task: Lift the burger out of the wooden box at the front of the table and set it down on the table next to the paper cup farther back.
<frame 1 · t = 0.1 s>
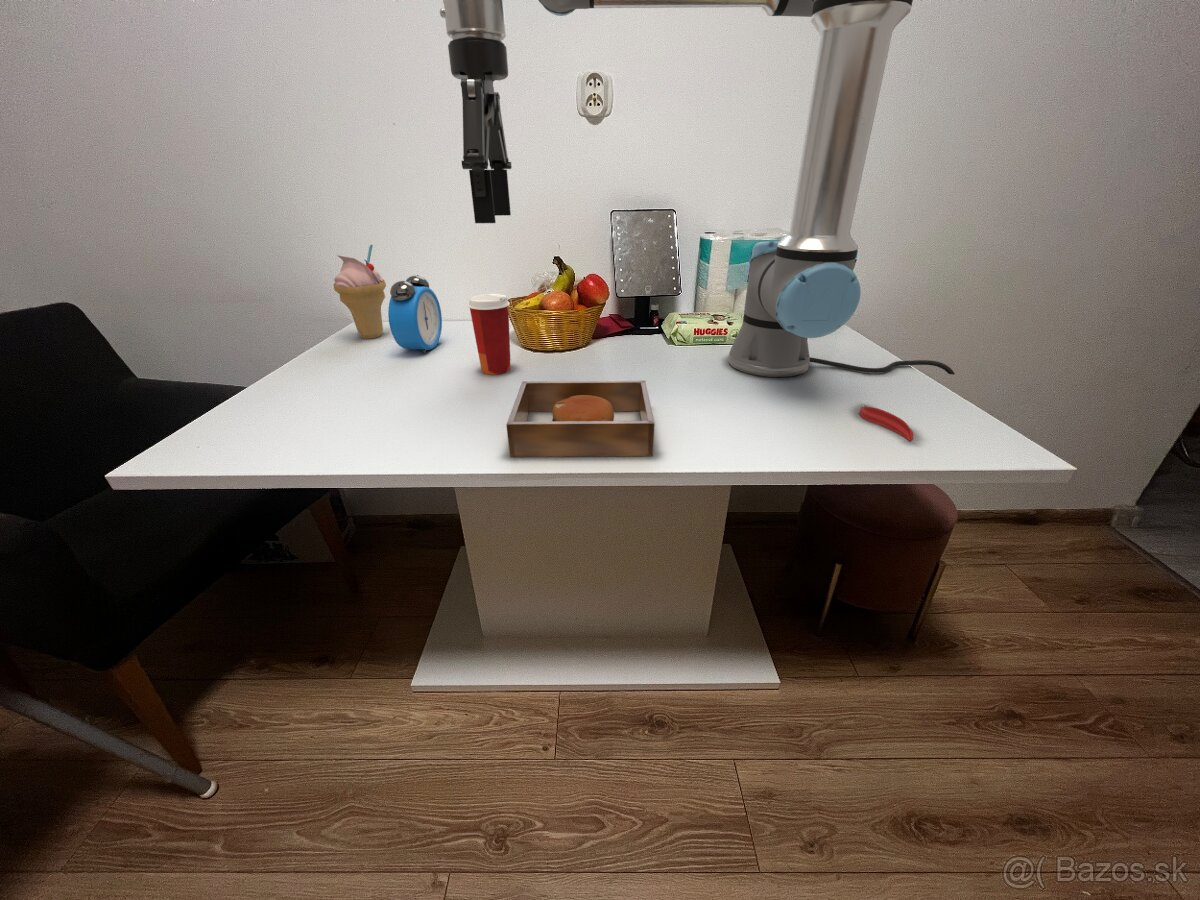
hand: (494, 219, 77), 28 cm above the table, tool pointing down, fingers open, 13 cm apart
cayenne pepper: (882, 424, 78), on the table
alarm clock: (421, 349, 113), on the table
paper cup: (496, 370, 100), on the table
ice cream cone: (372, 336, 122), on the table
wooden box: (583, 430, 77), on the table
burger: (583, 432, 77), resting in wooden box
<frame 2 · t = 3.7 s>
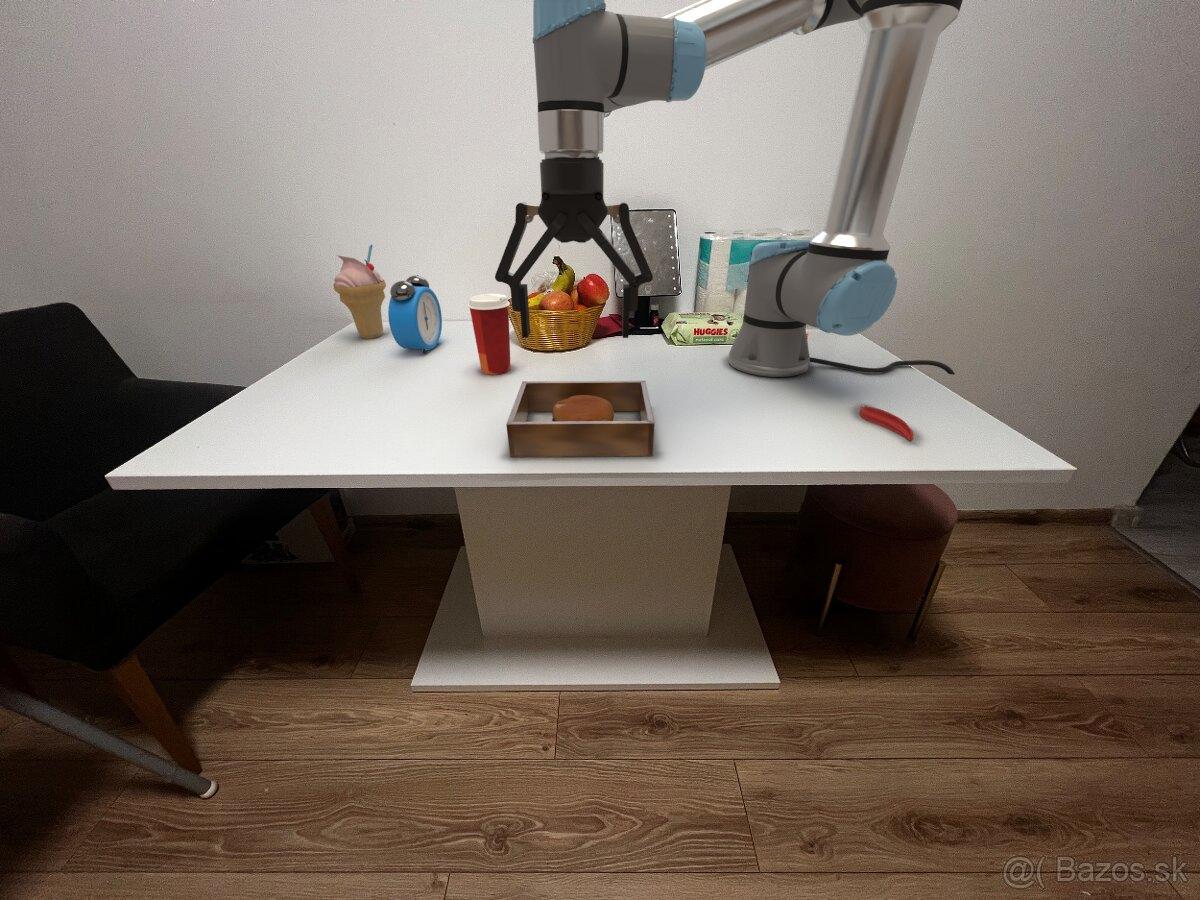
hand: (575, 335, 70), 14 cm above the table, tool pointing down, fingers open, 13 cm apart
nothing on the table moved.
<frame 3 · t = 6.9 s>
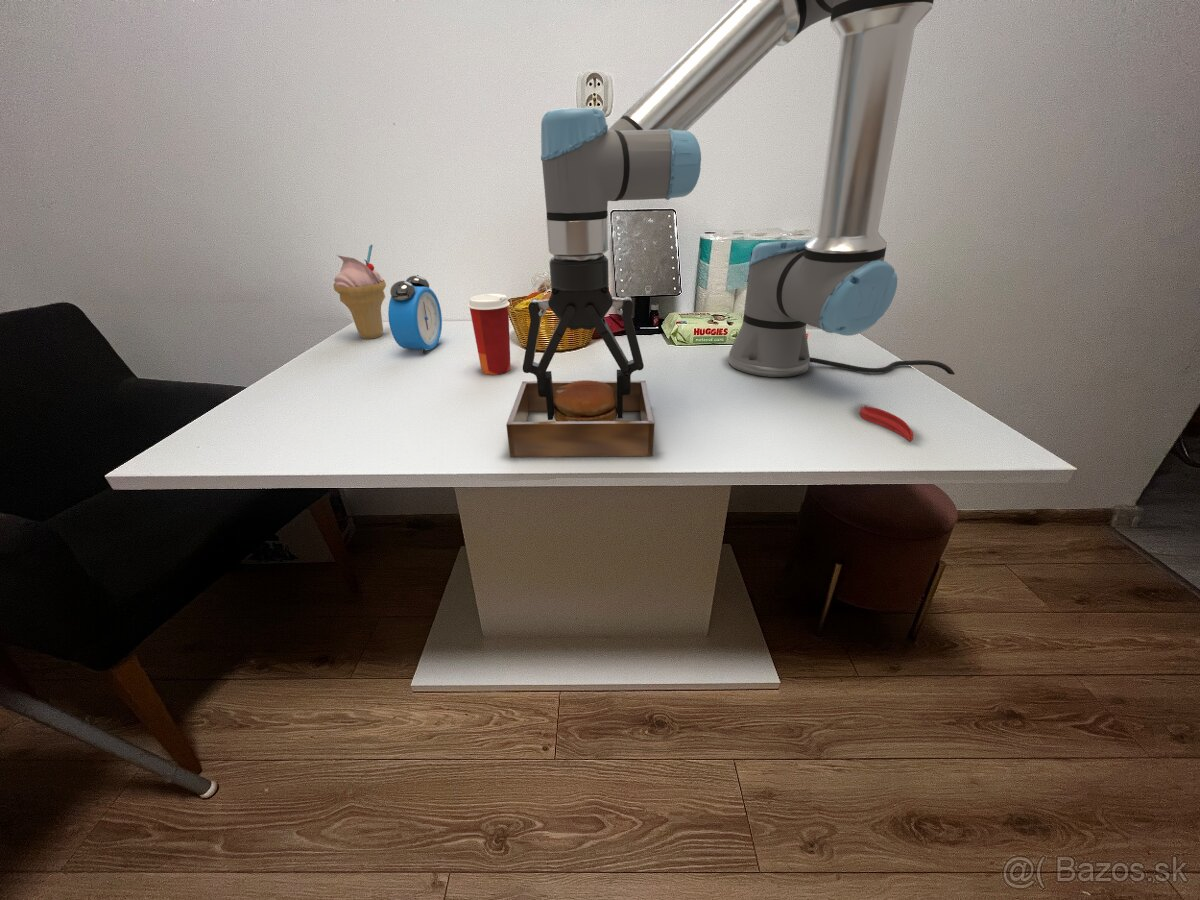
hand: (585, 415, 75), 3 cm above the table, tool pointing down, fingers closed on burger, 9 cm apart
burger: (584, 417, 76), point 2 cm above the table, touching gripper
everything else where it was.
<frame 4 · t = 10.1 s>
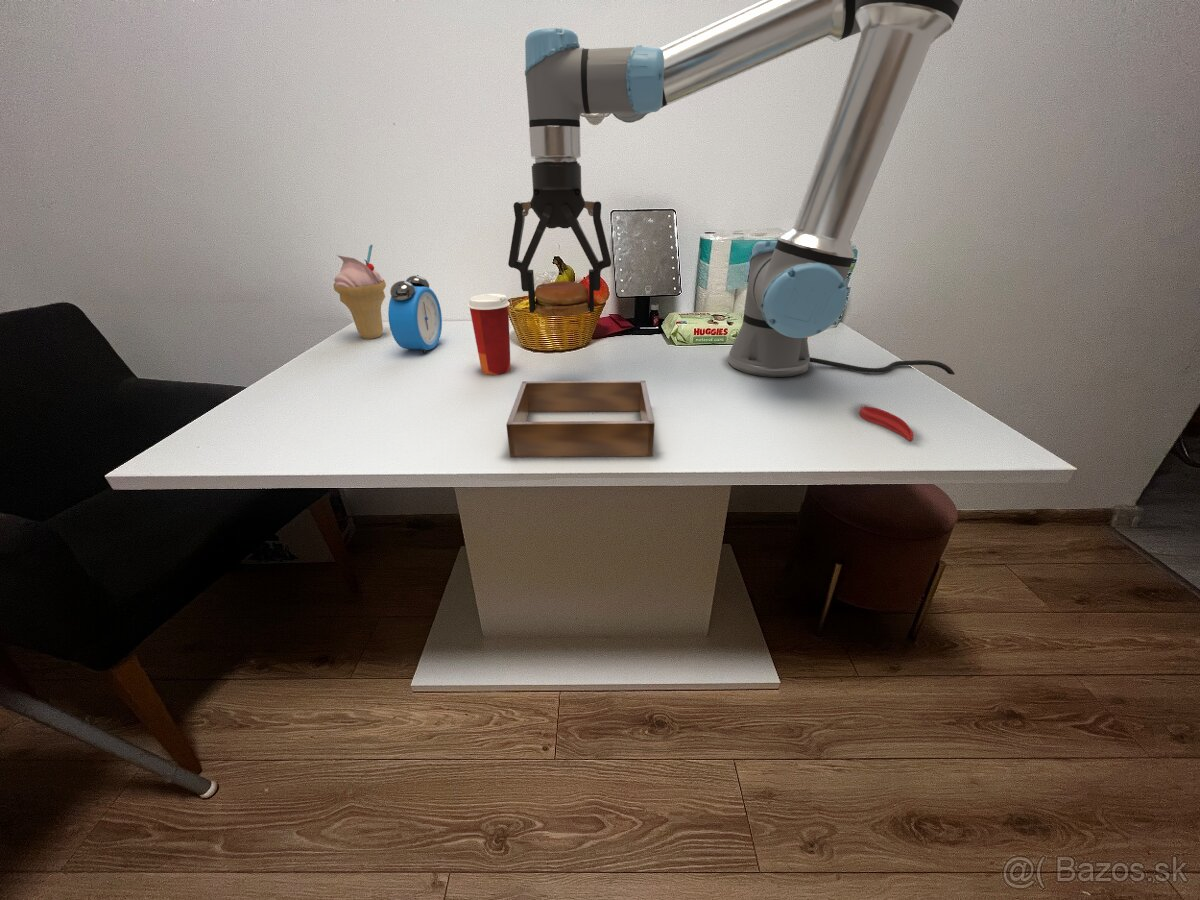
hand: (562, 310, 88), 13 cm above the table, tool pointing down, fingers closed on burger, 9 cm apart
burger: (561, 312, 88), point 13 cm above the table, touching gripper
everything else where it was.
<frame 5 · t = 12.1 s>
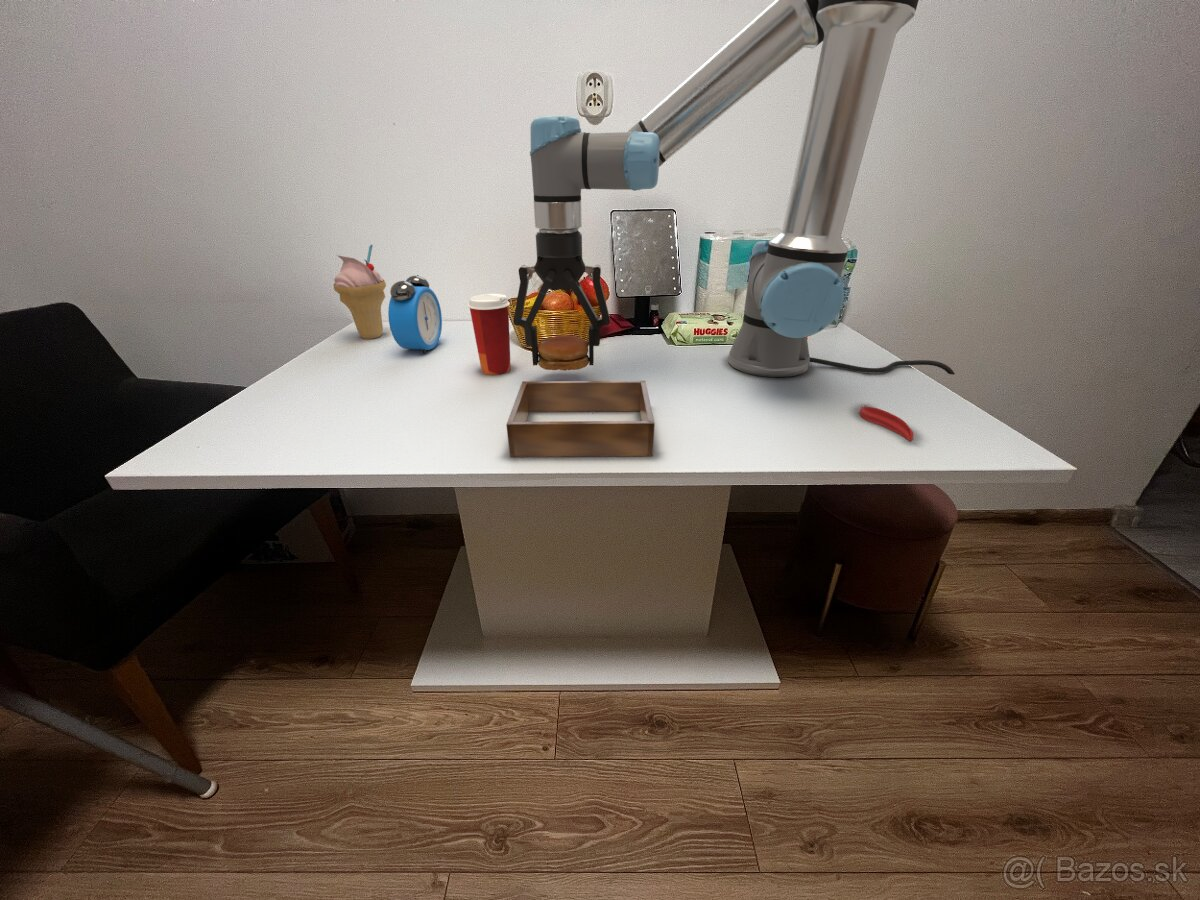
hand: (563, 362, 93), 3 cm above the table, tool pointing down, fingers closed on burger, 9 cm apart
burger: (563, 365, 94), point 3 cm above the table, touching gripper
everything else where it was.
when the fingers open (0 cm above the table, at t = 13.3 s): burger stays where it is, on the table.
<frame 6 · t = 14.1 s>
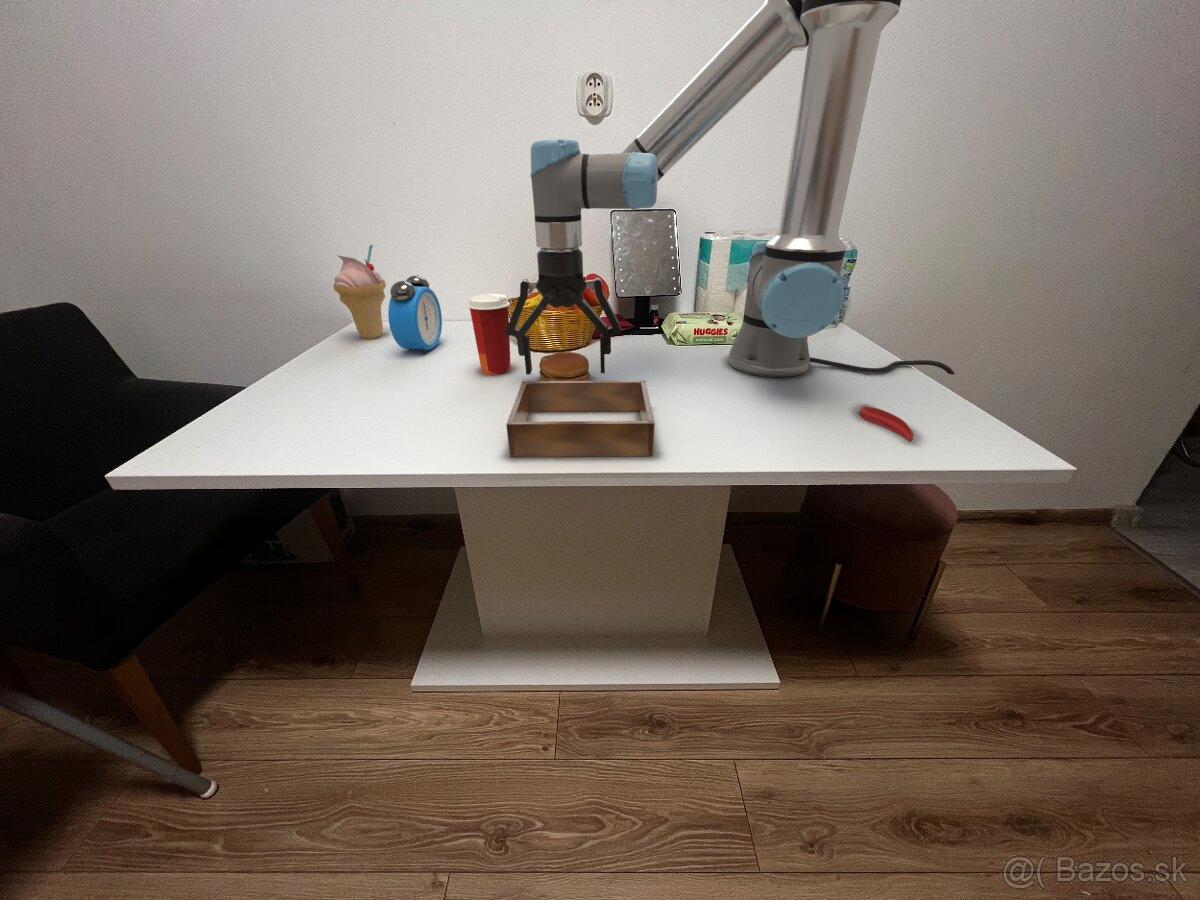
hand: (565, 371, 94), 2 cm above the table, tool pointing down, fingers open, 13 cm apart
burger: (564, 381, 95), on the table
everything else where it was.
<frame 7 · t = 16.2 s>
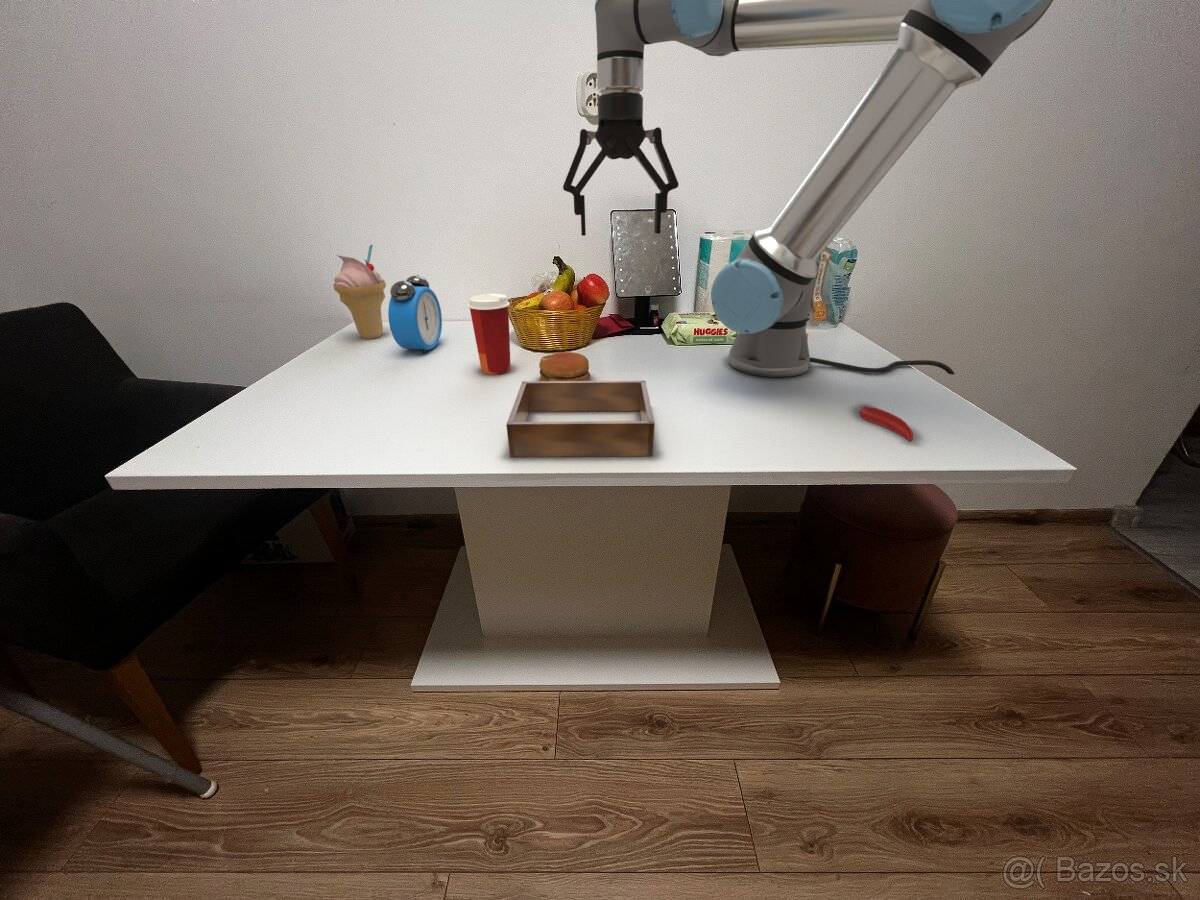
hand: (620, 234, 94), 24 cm above the table, tool pointing down, fingers open, 13 cm apart
nothing on the table moved.
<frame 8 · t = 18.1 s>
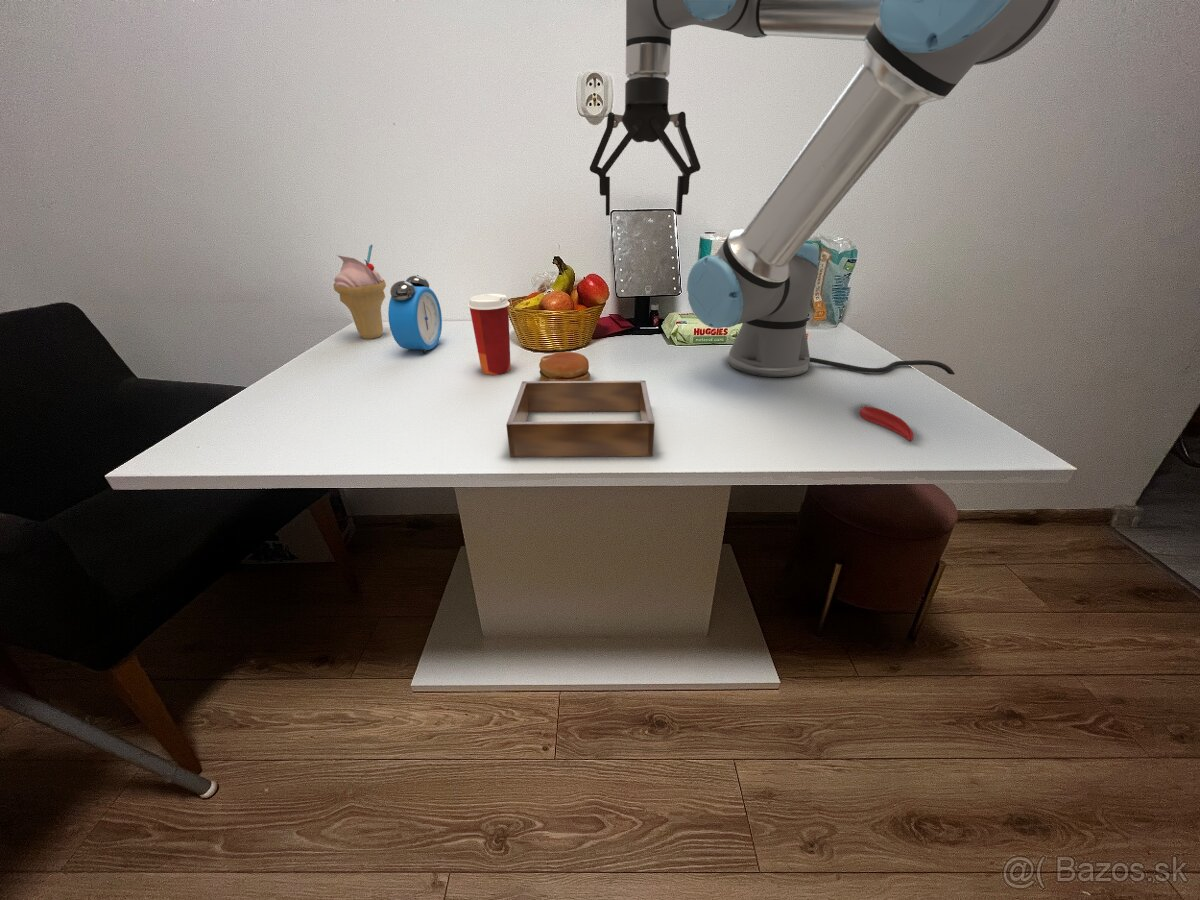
hand: (643, 215, 98), 27 cm above the table, tool pointing down, fingers open, 13 cm apart
nothing on the table moved.
at the end: burger inside the target area (0.1 cm from its centre), on the table; burger 15.1 cm from the paper cup (horizontally); burger tilted 0° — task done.
